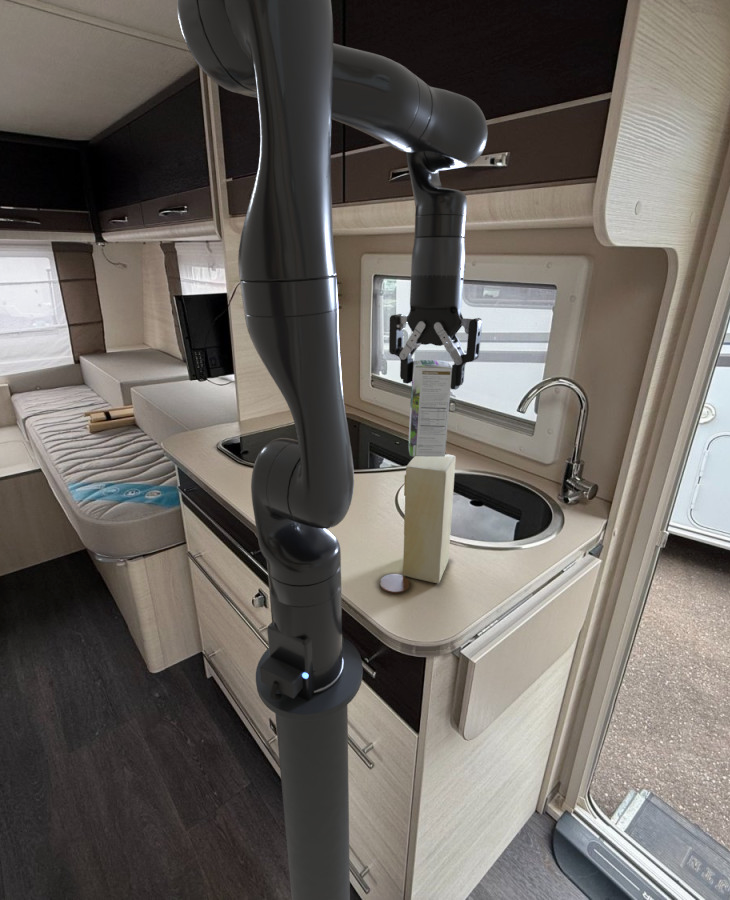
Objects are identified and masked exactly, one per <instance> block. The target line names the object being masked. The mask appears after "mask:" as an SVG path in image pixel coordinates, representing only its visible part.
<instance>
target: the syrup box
mask: <svg viewBox="0 0 730 900" xmlns="http://www.w3.org/2000/svg"><path fill="white" fill-rule="evenodd" d="M451 376H452V365H451V364H449V362H448V361H447V360H439V359H438V360H437V359H417V360H413V374H412V382H411V389H410V390H411V391H410V402H409V403H410V406H409V423H408V424H409V425H408V426H409V427H408V454H409V456H410V457H415V456H423V457H444V456H445V454H446V449H447V448H446V447H447V437H448V425H449V415H450V413H449V412H450V401H451V390H452V389H451Z"/></svg>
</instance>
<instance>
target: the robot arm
mask: <svg viewBox="0 0 730 900" xmlns="http://www.w3.org/2000/svg"><path fill="white" fill-rule="evenodd" d="M176 10H177V18H178V23H179V27H180V30H181V34H182V36H183V39H184V42H185V44H186V46H187V48H188V50H189V52H190V54H191V56H192V58H193V59H194V61H195V62H196V63H197V65H198V67H200V69H201V70H202V72H203V73H205V75H207V77H209V79H211V81H213V82H214V83H216V84H217V85H218V86H220V87H221V88H223V89H225V90H227V91H229V92H232V93H234V94H239V95H243V96H247V97H251V98H255V99H257V103H258V104H257V106H258V116H259V117H258V118H259V137H260V139H259V140H260V141H259V157H258V165H257V172H256V175H255V180H254V184H253V188H252V192H251V196H250V200H249V203H248V207H247V210H246V215H245V218H244V222H243V227H242V231H241V235H240V239H239V247H238V254H237V255H238V257H237V258H238V259H237V261H238V264H237V265H238V266H237V267H238V275H239V277H238V278H239V285H240V290H241V291H240V292H241V298H242V307H243V313H244V314H243V315H244V320H245V326H246V329H247V333H248V336H249V338H250V340H251V343H252V344H253V345H252V346H253V347H254V349H255V351H256V353H257V354H258V357H259V358H260V359H261V362H262V364H263V365H264V367H265V368H266V370H267V371H268V374H269V376H270V377H271V378H272V380H273V382H274V383H275V385H276V386H277V387H278V390H279V392H280V393H281V395H282V397H283V399H284V400H285V403H286V404H287V407H288V409H289V411H290V414H291V417H292V420H293V423H294V427H295V432H296V437H297V439H294V438H288V437H279V438H275V439H273V440H271V441H269V442H268V443H266V444H265V445H264V446H263V447H262V448H261V449H260V451H259V452H258V455H257V457H256V459H255V461H254V464H253V467H252V473H251V480H250V481H251V482H250V491H251V492H250V493H251V503H252V509H253V516H254V523H255V529H256V536H257V542H258V543H257V544H258V547H259V550H260V552H261V554H262V556H263V557H264V559H265V561H266V568H267V578H268V590H269V591H268V592H269V602H270V603H269V605H270V614H271V622H270V623H269V624H268V625H267V627H266V631H267V642H268V648H269V656H270V657H269V658H268V659H267V660H266V661H265V662H264V663H263V664H262V665H261V666H260V674H261V682H262V683H264V684H266V685H268V686H270V687H272V688H271V691H270V697H271V699H272V700H274V701H276V700H281V699H282V695H281V694H276V691H277V690H278V691H280V692H281V693H283V694H285V695H287V696H289V697H291V698H293V699H294V698H295V697H296V695H297V696H299V697H301V698H303V699H305V700H307V701H309V700H310V699H311V698H312V697H313V696H314V695H317V694H320V693H323V692H325V691H327V690H329V689H330V688H332V687H333V686H334V685H335V684H336V683H337V682H338V681H339V679H340V677H341V675H342V673H343V653H342V642H343V643H344V638H345V637H344V635H343V612H342V611H343V610H342V609H343V607H342V606H343V605H342V603H343V602H342V550H341V543H340V542H339V539H338V538H337V537H336V536H335V534H334V533H333V532H332V531H331V530H329V529H331V528H335V527H337V526H338V525H339V524H340V523H341V522H342V521H343V520H344V519H345V518H346V516H347V514H348V512H349V511H350V508H351V504H352V502H353V501H352V500H353V497H354V488H355V467H354V459H353V451H352V446H351V438H350V432H349V425H348V420H347V414H346V407H345V399H344V390H343V378H342V377H343V376H342V365H341V353H340V352H341V350H340V349H341V348H340V328H339V327H340V326H339V325H340V324H339V323H340V321H339V297H338V294H339V293H338V279H337V265H336V255H335V244H334V243H335V241H334V224H333V223H334V221H333V194H332V193H333V192H332V191H333V190H332V120H333V121H336V122H338V123H341V124H343V125H346V126H348V127H351V128H353V129H356V130H358V131H360V132H362V133H365V134H366V135H369V136H370V137H373V138H374V139H376V140H378V141H380V142H382V143H384V144H386V145H387V146H390V147H391V148H394V149H396V150H397V151H401V152H404V153H405V159H406V160H405V161H406V165H407V169H408V174H409V178H410V183H411V190H412V195H413V200H414V206H415V207H414V208H415V211H414V235H413V236H414V239H413V247H412V251H411V264H410V265H411V266H410V267H411V268H410V289H409V290H410V293H409V308H410V309H409V312H408V315H403V314H402V313H397V314H392V315H390V316H389V335H388V338H389V339H388V341H389V343H388V352H389V354H390V355H394V356H396V357H398V358H399V359H400V366H399V367H400V368H399V377H400V380H402V383H403V384H407V385H408V384H410V383H412V374H413V361H414V358H412V357H413V355H414V354H415V352H416V351H417V350H418V348H419V347H420V346H421V345H424V346H425V345H433V346H436V347H441V346H444V349H445V350H446V352H447V353H448V354H449V355H450V358H451V359H452V361H453V364H452V365H451V367H452V376H451V390H458V389H459V388H460V387H461V386H462V385H463V384H464V381H465V368H466V365H467V363H471V362H474V361H475V360H477V359H479V357H480V349H481V340H482V330H483V319H482V318H480V317H477V318H464V316H463V314H462V305H463V290H464V279H465V273H466V244H465V242H466V239H465V238H466V227H467V215H468V214H467V213H468V198H467V196H466V193H464V191H462V190H459V189H455V188H449V187H443V185H442V182H441V179H440V171H447V170H455V169H461V168H462V169H463V168H465V167H470V166H471V165H473V164H474V163H475V162H477V160H478V159H479V158H480V157H481V156H482V154H483V153H484V151H485V149H486V145H487V142H488V135H489V133H488V132H489V131H488V130H489V129H488V122H487V120H486V116H485V115H484V113H483V112H484V111H482V109H481V107H480V106H479V105H478V104H477V103H476V101H473V100H472V99H471V98H470V97H467V96H466V95H465V96H464V95H462V94H459V93H456V92H454V91H450V90H447V89H444V88H439V87H435V86H434V87H433V86H431V85H429V84H428V83H426V82H425V81H424V80H423V79H421V78H420V77H418V76H417V75H416V74H415V73H413V72H412V71H411V70H409V69H408V68H407V67H406V66H404V65H402V64H401V63H400V62H396V61H395V60H393V59H391V58H388V57H386V56H383V55H380V54H377V53H373V52H370V51H365V50H361V49H357V48H353V47H349V46H344V45H341V44H337V43H334V19H333V7H332V0H176ZM407 326H408V327H409V329H410V330H411V332H412V333H411V335H410V336H409V338H408V339H407V341H406V342H405V345H403V344H404V329H406V327H407ZM462 327H463V329H464V333H465V334H466V335H467V343H466V353H465V351H464V349H463V348H462V343H461V341H460V339H459V337H458V335H457V333H459V331H460V329H461V328H462Z"/></svg>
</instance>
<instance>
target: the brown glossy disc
mask: <svg viewBox="0 0 730 900" xmlns="http://www.w3.org/2000/svg"><path fill="white" fill-rule="evenodd" d="M379 586H380V588H381V589H382V591H384V592H386V593H389V594H393V595H394V594H395V595H397V594H402V593H405V592H406V591H408V590H409V588H410V581H409V579H408V577H407V576H405V575H403V574H400V573H388V574H386V575H383V576H382V577H381V578H380V580H379Z"/></svg>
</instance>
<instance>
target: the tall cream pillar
mask: <svg viewBox="0 0 730 900" xmlns="http://www.w3.org/2000/svg"><path fill="white" fill-rule="evenodd" d="M456 460H457V458H456V455H454V454H447V453H445V456H444V457H423V456H413V457H412V459H410V461H409V462H408V463H407V465H406V467H405V475H404V483H403V484H404V485H403V486H404V487H403V490H404V491H403V496H404V516H403V558H402V559H403V561H402V576H404V577H407V578H413V579H416V580H420V581H424V582H429V583H432V584H433V583H434V584H440V583H441V579H442V577H443V575H444V572H445V570H446V568H447V566H448V563H449V560H450V559H449V558H450V545H451V532H452V531H451V529H452V516H453V515H452V514H453V501H454V490H455V489H454V487H455V473H456Z"/></svg>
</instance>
